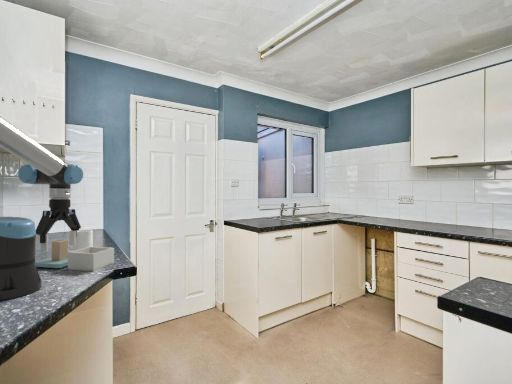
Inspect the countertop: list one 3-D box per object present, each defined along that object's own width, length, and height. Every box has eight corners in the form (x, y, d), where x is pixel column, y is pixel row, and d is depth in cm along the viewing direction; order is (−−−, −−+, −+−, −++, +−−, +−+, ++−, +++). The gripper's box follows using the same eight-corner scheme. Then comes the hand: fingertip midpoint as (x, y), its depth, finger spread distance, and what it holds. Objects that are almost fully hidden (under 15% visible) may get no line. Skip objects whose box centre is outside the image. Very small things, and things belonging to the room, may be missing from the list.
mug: (64, 258, 132) (64, 232, 132) (65, 254, 139) (66, 230, 139) (93, 255, 138) (93, 231, 138) (93, 252, 145) (93, 229, 145)
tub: (93, 271, 111) (93, 253, 111) (67, 269, 113) (67, 252, 113) (114, 263, 123) (114, 247, 123) (90, 262, 125) (90, 246, 125)
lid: (59, 270, 112) (59, 244, 112) (32, 268, 115) (32, 243, 114) (84, 262, 125) (84, 239, 125) (60, 260, 127) (60, 238, 127)
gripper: (39, 199, 107) (39, 254, 107) (89, 198, 131) (89, 243, 131) (23, 199, 108) (22, 253, 108) (76, 198, 133) (75, 242, 132)
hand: (59, 248), depth 119 cm, fingers open, 13 cm apart
